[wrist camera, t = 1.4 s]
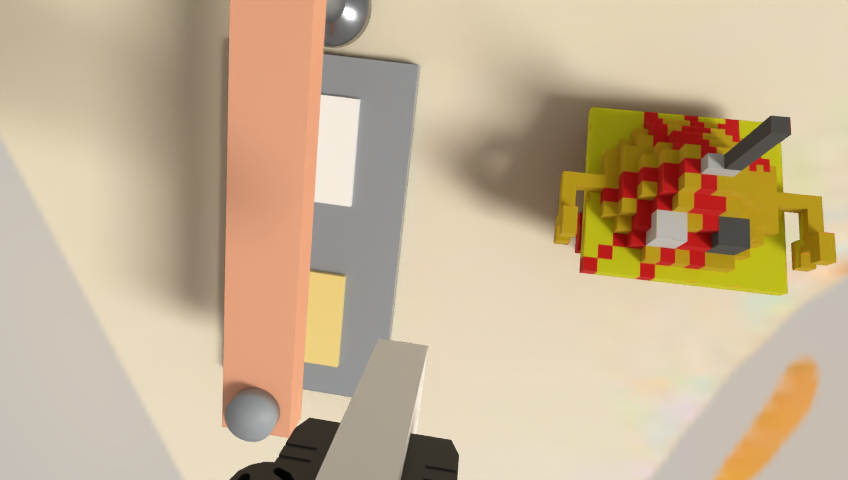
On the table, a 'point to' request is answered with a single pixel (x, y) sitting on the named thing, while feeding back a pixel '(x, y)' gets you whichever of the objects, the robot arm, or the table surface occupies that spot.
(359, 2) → the pivot pedestal
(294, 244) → the swing arm
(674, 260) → the toy
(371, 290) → the label board
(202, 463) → the table surface
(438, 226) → the table surface
